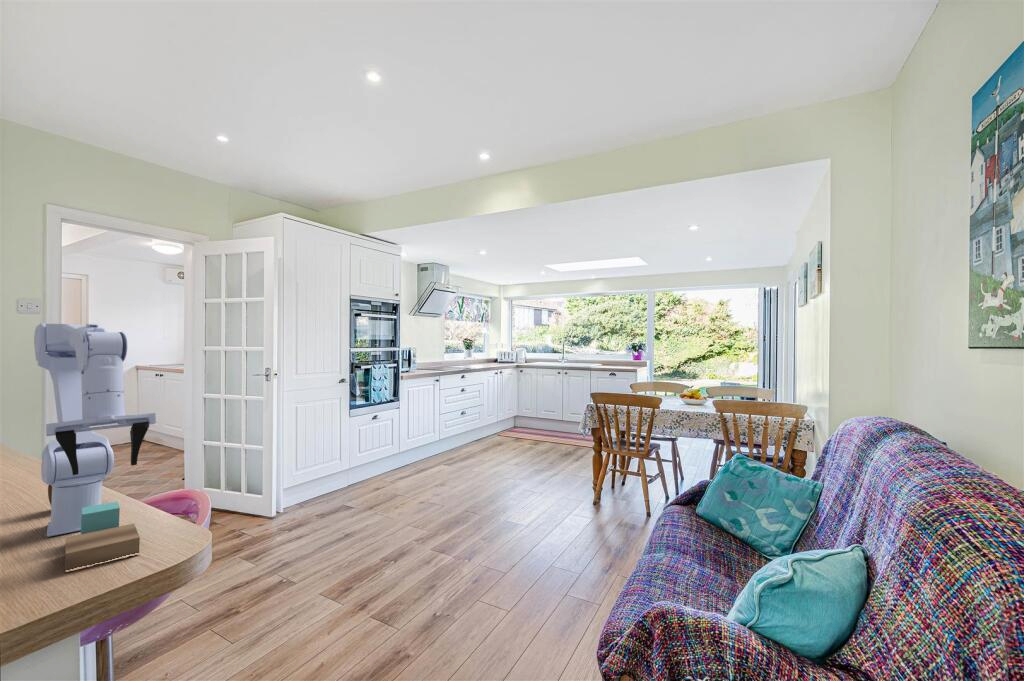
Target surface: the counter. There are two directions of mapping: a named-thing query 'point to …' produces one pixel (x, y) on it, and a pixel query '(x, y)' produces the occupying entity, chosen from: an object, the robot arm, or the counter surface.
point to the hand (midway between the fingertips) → (105, 469)
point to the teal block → (100, 517)
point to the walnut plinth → (101, 546)
